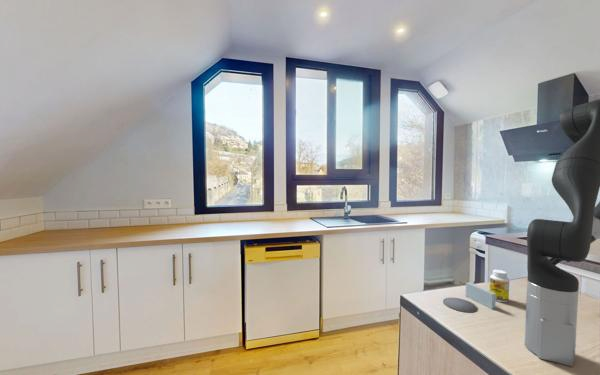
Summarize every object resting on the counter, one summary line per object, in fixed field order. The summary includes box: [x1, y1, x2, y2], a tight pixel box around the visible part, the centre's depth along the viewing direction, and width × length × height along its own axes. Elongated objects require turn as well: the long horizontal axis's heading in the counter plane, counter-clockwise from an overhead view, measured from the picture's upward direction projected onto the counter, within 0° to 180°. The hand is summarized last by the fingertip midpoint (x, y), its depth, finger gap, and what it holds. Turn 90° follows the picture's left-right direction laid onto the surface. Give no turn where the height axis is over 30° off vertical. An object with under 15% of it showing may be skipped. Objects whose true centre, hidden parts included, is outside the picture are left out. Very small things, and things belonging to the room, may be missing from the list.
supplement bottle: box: [489, 269, 510, 303], centre depth 95 cm, size 6×6×10 cm
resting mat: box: [442, 297, 478, 313], centre depth 91 cm, size 10×10×1 cm
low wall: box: [465, 282, 496, 310], centre depth 93 cm, size 10×2×5 cm, turn 15°
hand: (540, 261), depth 91 cm, fingers open, 8 cm apart
